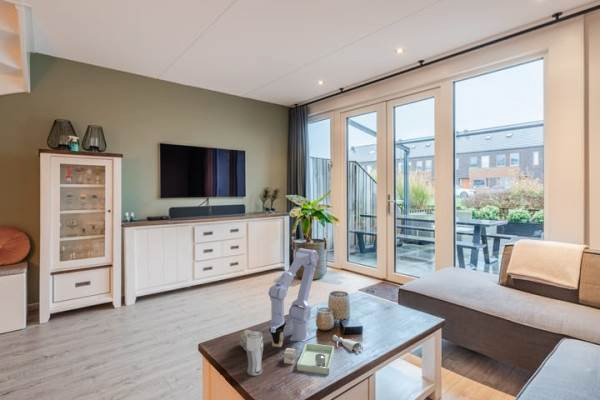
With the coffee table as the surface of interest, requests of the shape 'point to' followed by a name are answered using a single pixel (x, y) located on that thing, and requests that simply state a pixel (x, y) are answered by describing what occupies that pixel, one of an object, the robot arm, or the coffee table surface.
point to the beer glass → (254, 352)
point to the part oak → (279, 341)
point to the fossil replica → (244, 338)
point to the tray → (308, 358)
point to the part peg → (320, 360)
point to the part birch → (289, 355)
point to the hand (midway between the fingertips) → (277, 341)
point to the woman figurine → (348, 343)
